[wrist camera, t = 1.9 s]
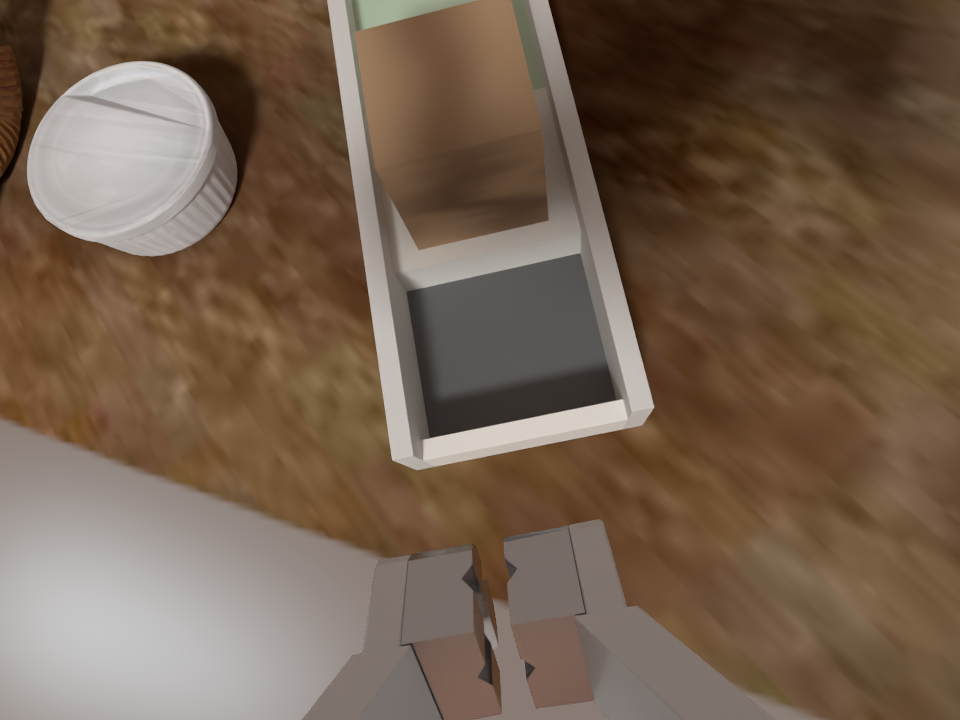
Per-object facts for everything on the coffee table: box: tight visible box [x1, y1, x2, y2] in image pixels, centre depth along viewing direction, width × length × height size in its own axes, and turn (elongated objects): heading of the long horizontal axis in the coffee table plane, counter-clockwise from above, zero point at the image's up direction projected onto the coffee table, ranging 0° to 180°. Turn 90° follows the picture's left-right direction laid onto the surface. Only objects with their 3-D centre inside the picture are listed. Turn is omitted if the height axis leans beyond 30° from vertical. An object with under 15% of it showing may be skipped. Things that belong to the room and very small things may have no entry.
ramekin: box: [27, 61, 237, 256], centre depth 38 cm, size 11×11×5 cm
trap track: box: [327, 0, 654, 470], centre depth 37 cm, size 39×12×5 cm, turn 10°
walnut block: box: [354, 0, 549, 250], centre depth 31 cm, size 7×7×8 cm
